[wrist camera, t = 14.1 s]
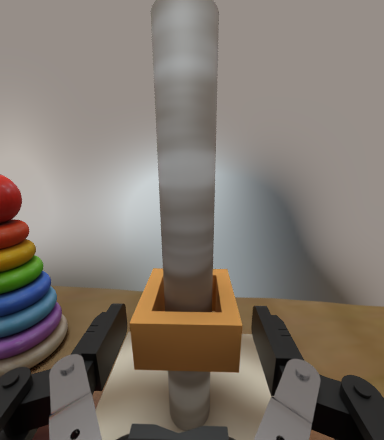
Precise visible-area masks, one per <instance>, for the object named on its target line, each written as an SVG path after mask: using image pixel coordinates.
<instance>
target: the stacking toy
mask: <svg viewBox="0 0 384 440" xmlns="http://www.w3.org/2000/svg"><path fill="white" fill-rule="evenodd" d="M21 204H22V198H21V193H20V191H19V189H18V188H17V186H16V185H15V184H14V183H13V182H12V181H11V180H10V179H8V178H6V177H5V176H3V175H0V377H1V376H2V375H4V374H5V373H7V372H8V371H10V370H12V369H15V368H18V367H27V368H31V367H33V366H35V365H36V364H38V363H40V362H41V361H43V360H44V359H45V358H47V357H48V356H49V355H50V354H51V353H52V352H54V351H55V350H56V348H57V347H58V346H59V345H60V344H61V342H62V341H63V339H64V337H65V335H66V333H67V328H68V324H67V320H66V318H65V317H64V315H62V310H61V307H60V305H59V304H58V303H57V302H56V300H57V295H56V292H55V290H54V289H53V288H52V287H51V286H50V285H51V279H50V277H49V275H48V274H47V273H45V272H44V271H42V270H43V262H42V260H41V259H40V258H39V257H37V256H35V255H34V254H35V252H36V247H35V245H34V243H32V242H31V241H29V240H27V239H26V238H27V236H28V234H29V227H28V225H27V224H26V223H25V222H23V221H20V220H12V219H13V218H14V217H15V216H16V215H17V214H18V212H19V210H20V207H21Z"/></svg>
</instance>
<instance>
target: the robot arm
mask: <svg viewBox="0 0 384 440" xmlns="http://www.w3.org/2000/svg"><path fill="white" fill-rule="evenodd" d="M126 332H127V317H126V307H125V304H111V306H110V307H109V309H108V310H107V312H102V313H101V314H100V315H98V316H97V317H96V318H95V319H94V320H93V322H92V323H91V325H90V327H89V328H88V329H87V331H86V333H85V334H84V335H83V337H82V338H81V340H80V341H79V343H78V344H77V346H76V347H75V349H74V350H73V352H72V353H71V355H68V356H66V357H64V358H62V359H60V360H59V361H58V362H57V363H56V364H55V365H54V366H53V367H52V369H49V370H46V371H42V372H38V373H35V374H31V371H30V369H29V368H27V367H18V368H15V369H12V370H10V371H8V372H7V373H5V374H4V375H2V376H1V377H0V440H32V438H33V436H34V434H35V433H36V431H37V429H38V428H39V427H42V426H45V425H48V424H49V435H50V440H102V437H101V433H100V428H99V424H98V419H97V415H96V411H95V406H94V402H93V398H92V395H93V392H94V391H102V390H103V387H104V385H105V383H106V380H107V378H108V376H109V373H110V371H111V369H112V366H113V364H114V361H115V359H116V357H117V354H118V352H119V350H120V347H121V345H122V343H123V340H124V338H125V335H126ZM252 336H253V340H254V343H255V346H256V350H257V353H258V356H259V359H260V362H261V366H262V369H263V372H264V375H265V378H266V381H267V385H268V388H269V391H270V394H271V396H272V397H271V398H270V401H269V403H268V405H267V408H266V410H265V413H264V415H263V418H262V420H261V423H260V425H259V428H258V430H257V433H256V435H255V438H254V440H309V437H310V432H311V429H312V430H314V431H317V432H319V433H322V434H324V435H327V436H329V437H332V438H334V439H335V440H384V398H383V397H382V395H381V394H380V393H379V391H378V390H377V389H376V388H375V387H374V386H373V385H372V384H370V383H369V382H367V381H366V380H364V379H362V378H360V377H357V376H354V375H347V376H344V377H343V378H342V381H341V382H340V381H337V380H333V379H330V378H327V377H324V376H322V375H320V374H318V372H317V371H316V369H315V368H314V367H313V366H312V365H310V364H309V363H307V362H306V361H304V359H303V357H302V355H301V353H300V352H299V350H298V348H297V346H296V344H295V342H294V341H293V339H292V337H291V335H290V333H289V331H288V330H287V328H286V326H285V324H284V322H283V321H282V320H281V319H280V318H279V317H278V316H277V315H271V314H270V312H269V310H268V308H267V306H254V307H253V315H252ZM273 396H274V397H273ZM116 440H235V439H234V438H231V437H229V436H228V428H227V427H226V426H201V427H198V428H195V429H191V430H188V431H185V432H181V433H177V432H174V431H171V430H169V429H166V428H163V427H161V426H158V425H156V424H132V425H131V429H130V433H129V434H126V435H124V436H122V437H120V438H118V439H116Z"/></svg>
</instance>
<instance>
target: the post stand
mask: <svg viewBox="0 0 384 440" xmlns="http://www.w3.org/2000/svg"><path fill="white" fill-rule="evenodd" d="M218 21H219V11H218V8H217V5H216V4H215V2H214V1H213V0H156V1H155V2H154V4H153V6H152V8H151V24H152V46H153V66H154V88H155V107H156V108H155V109H156V129H157V130H156V131H157V152H158V171H159V191H160V192H159V194H160V215H161V236H162V256H163V278H164V299H165V311H166V312H212V284H213V240H214V239H213V238H214V197H215V154H216V110H217V67H218V24H219V23H218ZM271 397H272V396H271V394H270V391H269V388H268V385H267V381H266V378H265V375H264V372H263V369H262V366H261V362H260V359H259V356H258V353H257V350H256V346H255V343H254V340H253V336H252V334H242V338H241V352H240V366H239V373H235V372H198V371H162V370H134V362H133V352H132V342H131V333H130V332H128V334H127V336H126V339H125V341H124V344H123V346H122V348H121V351H120V353H119V355H118V358H117V360H116V363H115V365H114V367H113V370H112V372H111V375H110V377H109V379H108V382H107V384H106V386H105V389H104V391H103V394H102V396H101V398H100V401H99V403H98V405H97V408H96V410H95V411H96V415H97V419H98V424H99V428H100V433H101V437H102V440H116V439H118V438H120V437H122V436H124V435H126V434H129V433H130V429H131V425H132V424H156V425H158V426H161V427H163V428H166V429H169V430H171V431H174V432H177V433H181V432H185V431H188V430H191V429H195V428H198V427H201V426H226V427H227V428H228V436H229V437H231V438H234V439H235V440H254V438H255V435H256V433H257V430H258V428H259V425H260V423H261V420H262V418H263V415H264V413H265V410H266V408H267V405H268V403H269V401H270V398H271ZM273 397H274V396H273Z"/></svg>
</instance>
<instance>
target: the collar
mask: <svg viewBox="0 0 384 440" xmlns="http://www.w3.org/2000/svg"><path fill="white" fill-rule="evenodd" d="M212 311H215V312H166V311H165V299H164V278H163V269H156V268H154V269H153V271H152V273H151V275H150V277H149V280H148V282H147V284H146V287H145V289H144V291H143V294H142V296H141V298H140V300H139V303H138V305H137V307H136V310H135V312H134V314H133V317H132V319H131V321H130V333H131V342H132V352H133V362H134V370H162V371H198V372H235V373H239V366H240V352H241V338H242V322H241V319H240V315H239V311H238V307H237V304H236V300H235V296H234V292H233V289H232V285H231V281H230V277H229V274H228V270H227V269H213V284H212Z"/></svg>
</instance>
